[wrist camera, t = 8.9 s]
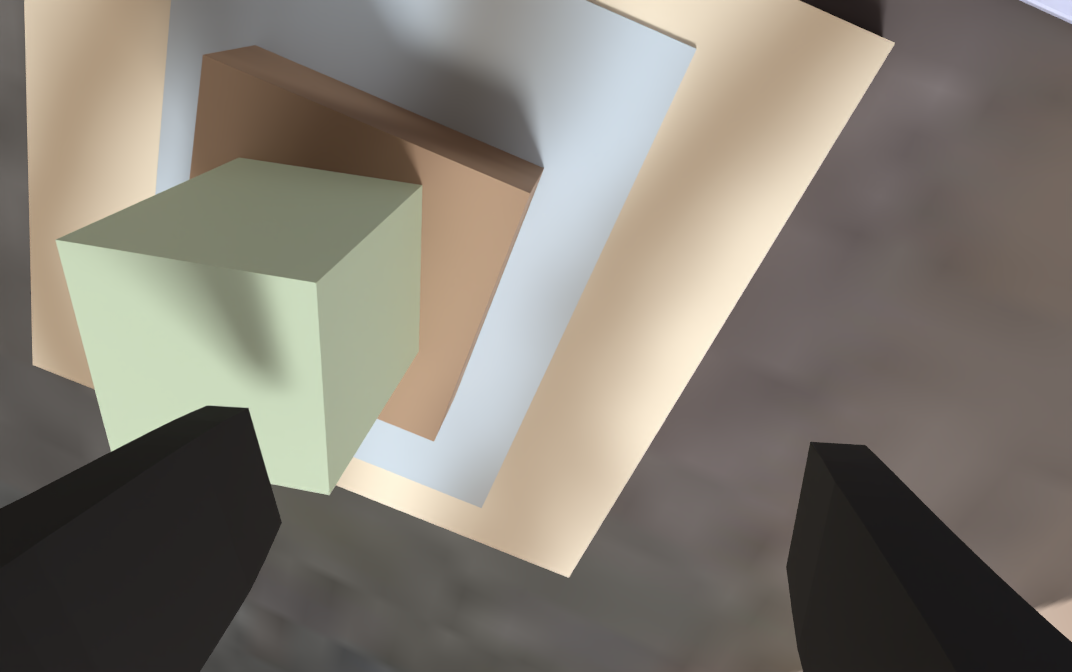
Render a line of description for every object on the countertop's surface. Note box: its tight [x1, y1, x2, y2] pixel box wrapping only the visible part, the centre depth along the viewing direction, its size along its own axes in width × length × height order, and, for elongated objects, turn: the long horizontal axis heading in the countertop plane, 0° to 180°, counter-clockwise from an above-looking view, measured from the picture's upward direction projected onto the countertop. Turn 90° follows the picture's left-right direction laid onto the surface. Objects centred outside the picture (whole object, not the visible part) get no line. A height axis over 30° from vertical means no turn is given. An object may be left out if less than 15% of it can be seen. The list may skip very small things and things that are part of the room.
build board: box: [24, 0, 895, 578], centre depth 16 cm, size 18×17×3 cm
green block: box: [56, 158, 422, 495], centre depth 13 cm, size 4×4×5 cm
